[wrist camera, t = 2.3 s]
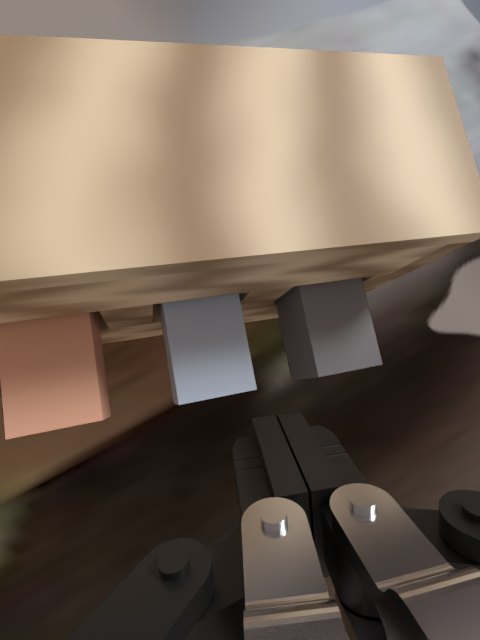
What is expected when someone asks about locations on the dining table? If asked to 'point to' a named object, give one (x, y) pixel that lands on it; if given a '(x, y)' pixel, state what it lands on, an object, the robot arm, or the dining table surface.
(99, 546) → the dining table surface
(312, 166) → the console
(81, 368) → the key terracotta
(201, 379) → the key slate
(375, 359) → the key charcoal
